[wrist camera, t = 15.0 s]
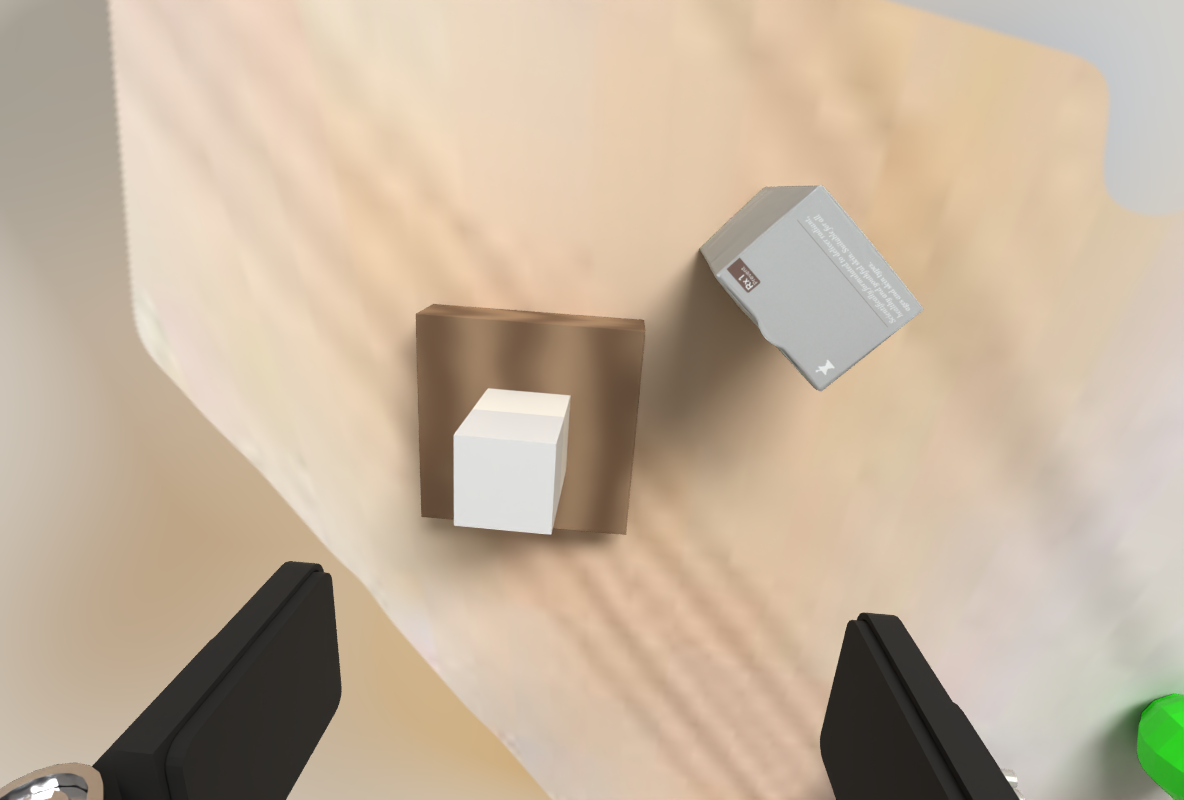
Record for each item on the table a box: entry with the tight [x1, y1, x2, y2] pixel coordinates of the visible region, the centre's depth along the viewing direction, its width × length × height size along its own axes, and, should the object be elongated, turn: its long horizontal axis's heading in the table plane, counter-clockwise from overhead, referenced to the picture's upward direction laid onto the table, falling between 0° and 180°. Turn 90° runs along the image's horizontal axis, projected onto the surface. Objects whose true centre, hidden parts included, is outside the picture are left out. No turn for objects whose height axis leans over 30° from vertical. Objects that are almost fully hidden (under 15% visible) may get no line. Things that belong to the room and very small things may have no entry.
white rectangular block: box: [454, 388, 571, 535], centre depth 40 cm, size 6×6×9 cm
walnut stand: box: [416, 304, 645, 535], centre depth 47 cm, size 16×16×4 cm
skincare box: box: [699, 185, 923, 391], centre depth 36 cm, size 8×7×16 cm
